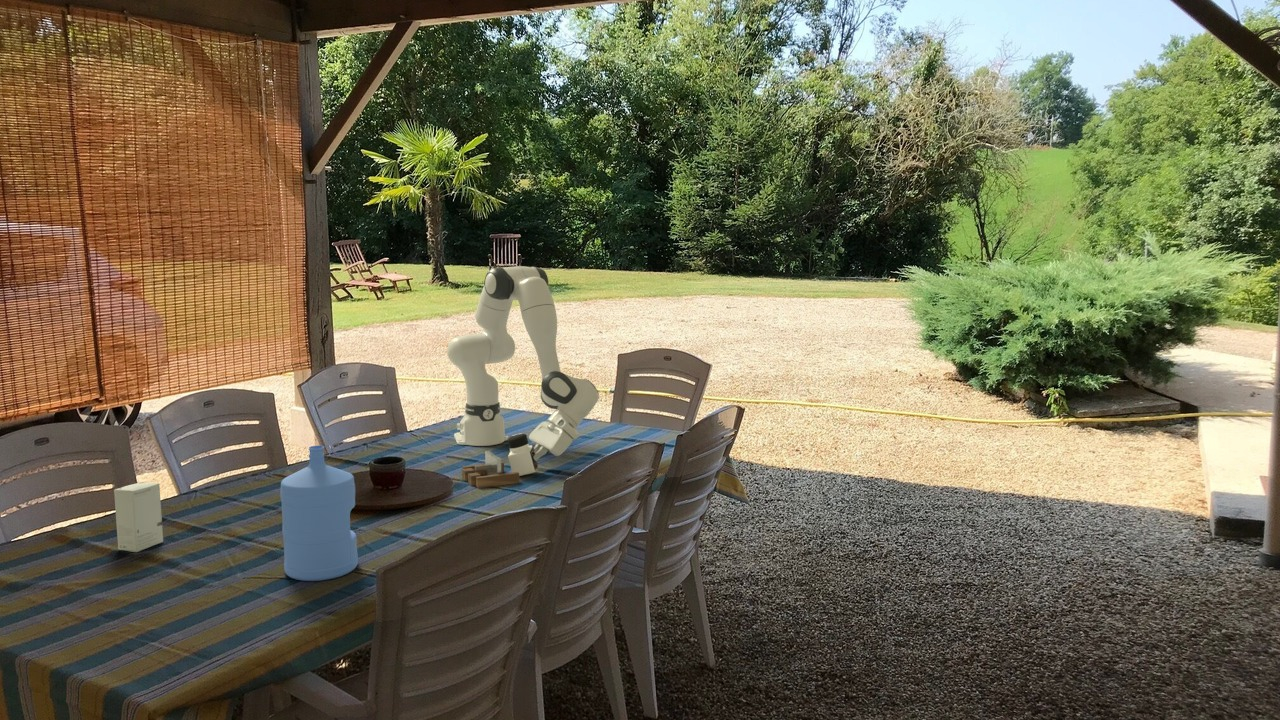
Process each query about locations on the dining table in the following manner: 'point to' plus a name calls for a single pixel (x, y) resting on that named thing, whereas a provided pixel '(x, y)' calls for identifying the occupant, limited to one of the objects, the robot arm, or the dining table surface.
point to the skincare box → (138, 516)
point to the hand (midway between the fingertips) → (532, 458)
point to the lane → (487, 477)
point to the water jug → (318, 521)
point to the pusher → (490, 464)
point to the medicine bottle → (521, 455)
